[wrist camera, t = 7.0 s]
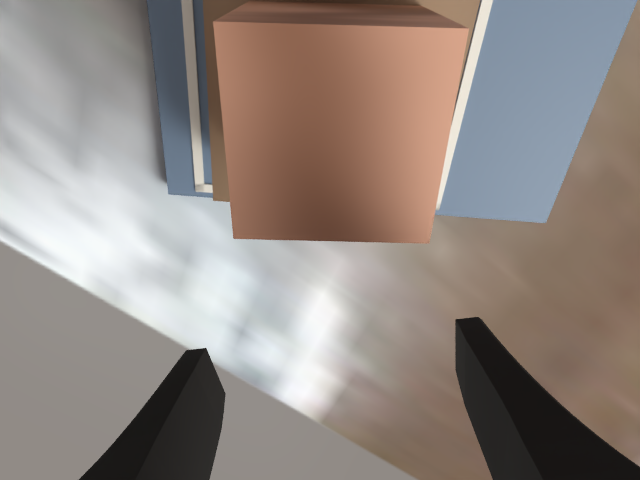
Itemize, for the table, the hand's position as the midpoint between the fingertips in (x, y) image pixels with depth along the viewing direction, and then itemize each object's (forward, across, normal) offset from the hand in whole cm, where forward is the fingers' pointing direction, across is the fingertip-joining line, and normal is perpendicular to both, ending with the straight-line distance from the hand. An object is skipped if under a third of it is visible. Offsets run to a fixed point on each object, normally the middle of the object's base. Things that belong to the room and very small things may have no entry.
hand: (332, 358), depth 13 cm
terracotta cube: (+6, -1, -6) cm, 8 cm away
